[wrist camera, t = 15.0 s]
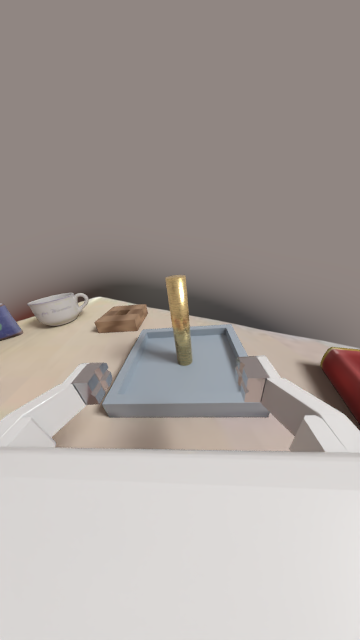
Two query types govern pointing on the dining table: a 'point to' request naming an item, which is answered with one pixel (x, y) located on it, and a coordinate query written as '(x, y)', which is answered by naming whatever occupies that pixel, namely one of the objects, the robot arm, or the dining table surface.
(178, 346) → the pin
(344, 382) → the hardcover book
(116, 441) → the dining table surface
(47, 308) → the teacup
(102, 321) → the pin block
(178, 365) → the tray
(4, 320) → the flask
